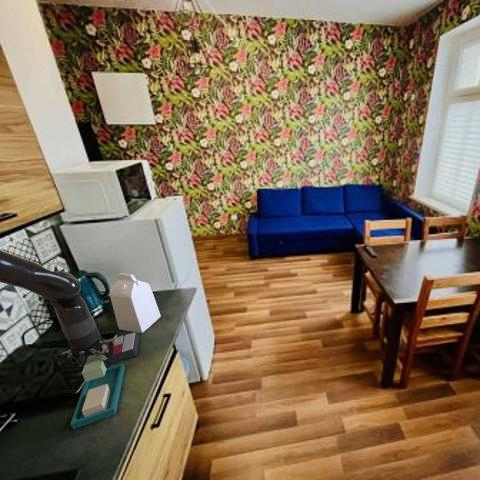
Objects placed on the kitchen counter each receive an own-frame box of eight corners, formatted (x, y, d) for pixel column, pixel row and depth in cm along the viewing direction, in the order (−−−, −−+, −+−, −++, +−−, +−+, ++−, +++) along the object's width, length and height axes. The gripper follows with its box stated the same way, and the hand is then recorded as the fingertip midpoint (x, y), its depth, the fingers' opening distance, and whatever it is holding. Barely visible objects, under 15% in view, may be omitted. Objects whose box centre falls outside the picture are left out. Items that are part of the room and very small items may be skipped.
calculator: (92, 343, 107) (136, 330, 113) (96, 351, 109) (139, 337, 115) (85, 363, 98) (133, 347, 104) (90, 371, 100) (136, 355, 106)
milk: (160, 316, 128) (148, 269, 118) (142, 333, 118) (126, 282, 108) (139, 313, 130) (124, 266, 120) (118, 329, 120) (101, 279, 110)
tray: (73, 429, 80) (70, 424, 79) (89, 379, 96) (87, 374, 95) (115, 414, 84) (113, 408, 83) (125, 368, 100) (123, 363, 100)
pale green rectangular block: (85, 382, 86) (81, 373, 85) (91, 364, 93) (88, 355, 91) (104, 376, 88) (100, 367, 87) (109, 358, 95) (106, 350, 94)
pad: (85, 419, 82) (81, 411, 81) (92, 398, 89) (88, 389, 87) (105, 412, 84) (101, 404, 83) (110, 392, 91) (107, 383, 89)
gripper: (46, 345, 78) (67, 386, 85) (106, 330, 84) (121, 369, 91) (55, 329, 84) (74, 368, 91) (110, 316, 90) (124, 354, 97)
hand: (97, 369), depth 91 cm, fingers closed on pale green rectangular block, 5 cm apart
